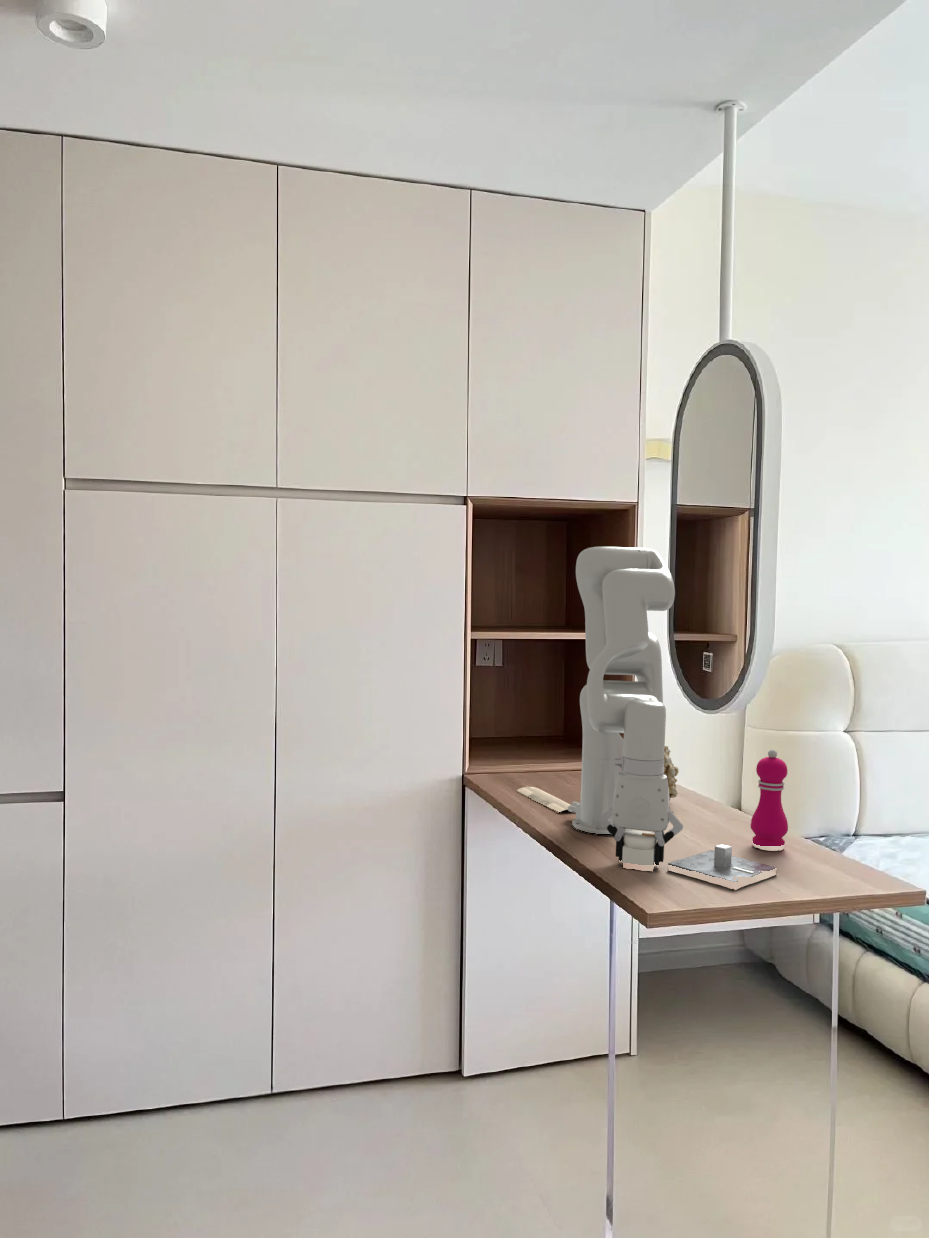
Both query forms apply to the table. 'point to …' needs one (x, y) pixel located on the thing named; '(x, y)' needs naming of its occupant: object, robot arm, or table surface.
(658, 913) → the table surface
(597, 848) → the table surface
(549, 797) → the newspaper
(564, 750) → the table surface
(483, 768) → the table surface
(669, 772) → the mineral formation
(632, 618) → the robot arm
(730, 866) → the grey thin square slab
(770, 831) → the pepper mill
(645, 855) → the knob
